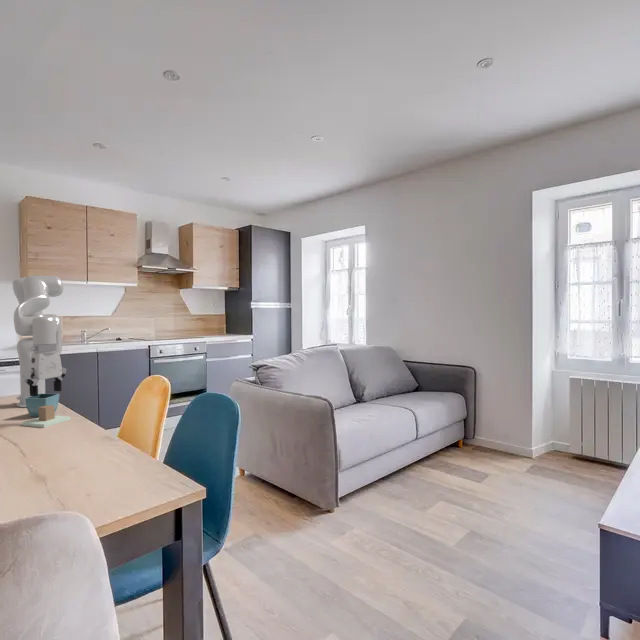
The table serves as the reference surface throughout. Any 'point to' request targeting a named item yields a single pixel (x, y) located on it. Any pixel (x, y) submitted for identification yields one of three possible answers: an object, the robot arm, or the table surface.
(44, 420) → the lid
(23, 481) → the table surface
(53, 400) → the flower pot
